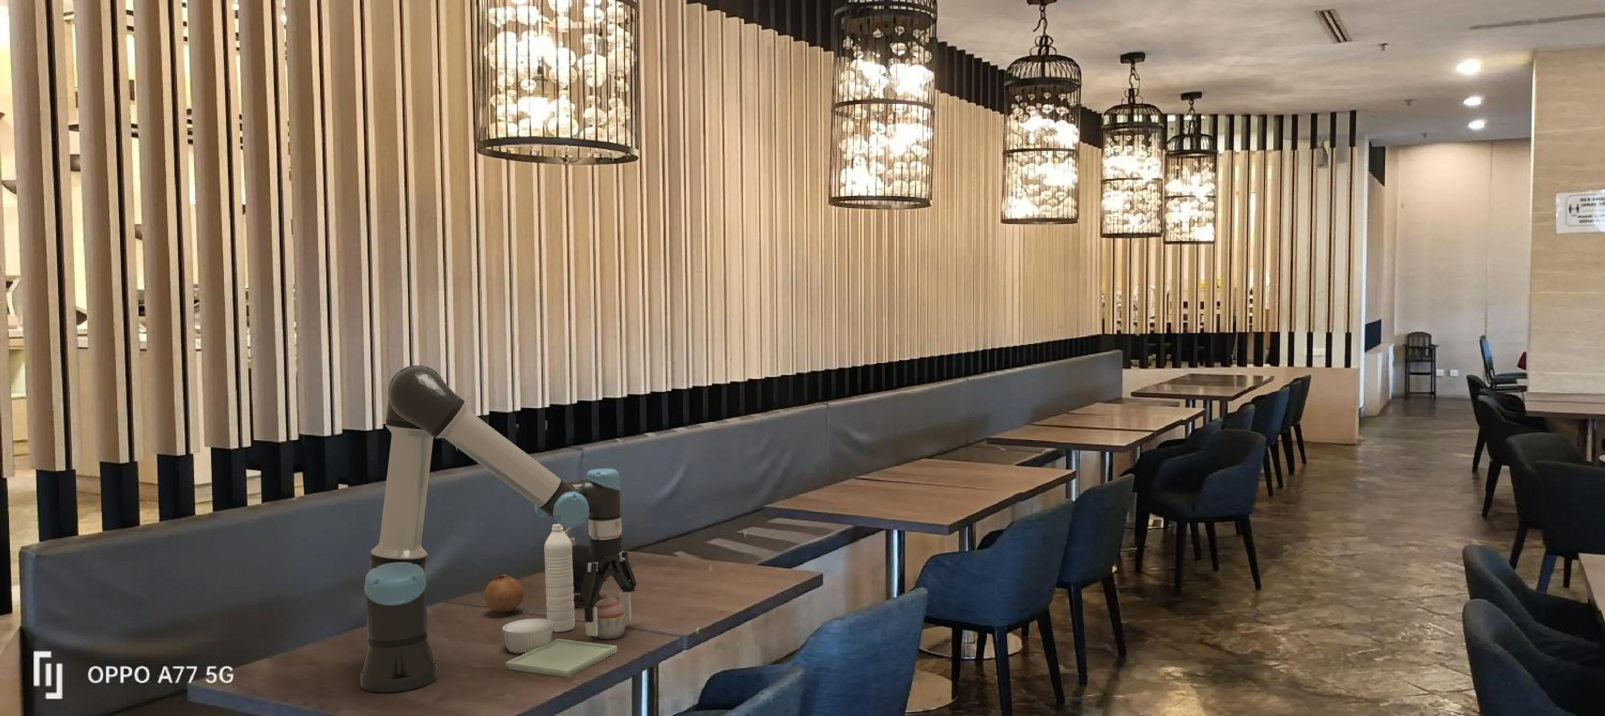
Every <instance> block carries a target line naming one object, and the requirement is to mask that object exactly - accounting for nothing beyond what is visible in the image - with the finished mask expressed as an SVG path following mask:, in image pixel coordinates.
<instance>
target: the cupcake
mask: <svg viewBox="0 0 1605 716" xmlns="http://www.w3.org/2000/svg"><path fill="white" fill-rule="evenodd" d="M594 607H597V623H598V636H595V637H596V638H598V639H601V640H612V639H613V640H614V639H617V638H620V637H622V636H623V635H624V634H625V629H626V622H627V617H628V614H629V613H628V612H625V608H624V605H623V604H622V603H621V602H620V601H619V599H617V598H616V597H615V596H614V595H612V594H610V593H608V592H606V594H605V595H604V598H602V599H601V600H599V601H598V602H597V603H596V604H595V606H594Z"/></svg>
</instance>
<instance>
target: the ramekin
mask: <svg viewBox="0 0 1605 716" xmlns="http://www.w3.org/2000/svg"><path fill="white" fill-rule="evenodd" d="M553 628H554V623H553V622H552V621H550V620H547V619H546V618H526V619H519V620H514V621H512V622H510V623H509V622H508V623H507V624H504V625H503V626H502V629H501V631H502V634H503V636H504V641H505V646H506V648H507V650H508V651H509V652H510V653H512V652H513V653H512V654H518V653H519V654H520V653H523V654H524V653H527V652H530V651H532V650H534V649H536V648H538V647H541V646H543V645H545V644H547V643H549V642H552V638H553V632H552V631H553ZM523 654H522V655H523Z"/></svg>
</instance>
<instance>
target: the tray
mask: <svg viewBox="0 0 1605 716" xmlns="http://www.w3.org/2000/svg"><path fill="white" fill-rule="evenodd" d="M616 652H617V653H618V646H617V645H612V644H605V643H596V642H587V641H581V640H580V641H578V640H572V639H564V638H563V639H562V638H556V639H554V640H551V642H549V643H547V644H545V645H543V646H541V647H538V648H536V649H534V650H532V651H530V652H527V653H525V654H521V655H519V656H517V657H514V658H512V659H510V660H508V661H506V662H505V670H511V671H518V672H525V673H531V674H537V675H538V674H540V675H547V676H554V677H559V678H560V677H561V678H570V677H572V676H574V675H576V674H578V673H580V672H582V671H584V670H586V669H588V668H590V667H591V666H594V665H595V664H598V663H600V662H601V661H604V660H605V659H607V658H609V657H611V656H613V655H614V653H615V654H617V653H616ZM612 654H613V655H612ZM610 655H611V656H610ZM608 656H609V657H608ZM606 657H607V658H606ZM593 664H594V665H593Z"/></svg>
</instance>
